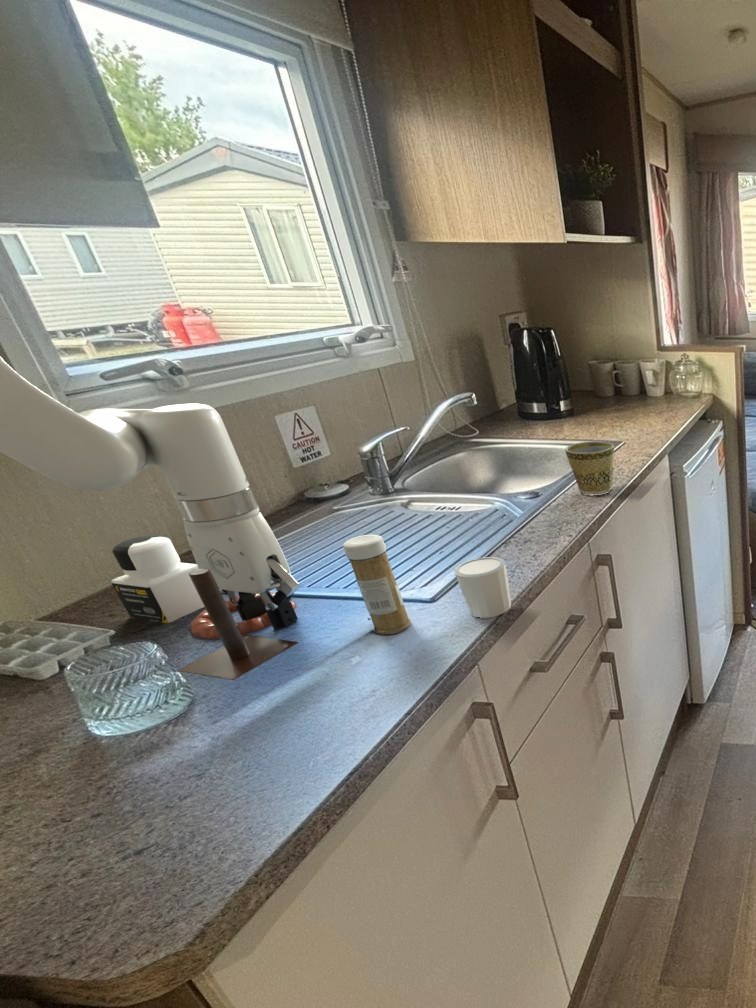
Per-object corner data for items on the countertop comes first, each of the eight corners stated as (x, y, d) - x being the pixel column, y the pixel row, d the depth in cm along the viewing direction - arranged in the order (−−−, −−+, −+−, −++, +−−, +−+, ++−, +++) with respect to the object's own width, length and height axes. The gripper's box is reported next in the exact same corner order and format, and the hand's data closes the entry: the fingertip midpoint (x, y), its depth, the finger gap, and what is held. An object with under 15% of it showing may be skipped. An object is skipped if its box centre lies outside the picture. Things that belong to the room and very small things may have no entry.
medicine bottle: (133, 624, 94) (90, 548, 88) (185, 602, 100) (147, 528, 94) (171, 630, 92) (129, 552, 87) (221, 606, 99) (185, 532, 93)
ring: (173, 639, 90) (165, 624, 89) (255, 600, 100) (248, 586, 99) (240, 650, 88) (233, 634, 86) (317, 608, 98) (311, 594, 97)
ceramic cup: (614, 498, 140) (607, 452, 136) (567, 499, 140) (558, 453, 136) (627, 480, 152) (621, 437, 147) (584, 481, 152) (576, 438, 147)
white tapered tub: (467, 602, 99) (455, 560, 96) (515, 594, 101) (505, 553, 98) (464, 623, 93) (451, 579, 90) (515, 615, 95) (504, 571, 92)
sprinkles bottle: (417, 619, 94) (389, 533, 88) (400, 636, 90) (369, 546, 84) (386, 620, 94) (355, 533, 88) (367, 636, 90) (333, 546, 84)
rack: (180, 678, 82) (129, 584, 76) (249, 641, 90) (207, 553, 83) (237, 687, 80) (189, 591, 74) (302, 649, 88) (264, 559, 81)
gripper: (137, 510, 82) (200, 634, 91) (242, 520, 79) (298, 649, 87) (198, 491, 89) (252, 609, 97) (298, 500, 85) (345, 621, 94)
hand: (273, 626), depth 92 cm, fingers open, 4 cm apart
